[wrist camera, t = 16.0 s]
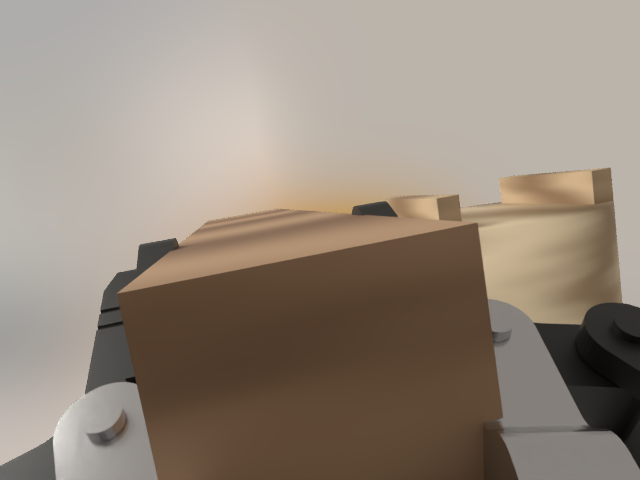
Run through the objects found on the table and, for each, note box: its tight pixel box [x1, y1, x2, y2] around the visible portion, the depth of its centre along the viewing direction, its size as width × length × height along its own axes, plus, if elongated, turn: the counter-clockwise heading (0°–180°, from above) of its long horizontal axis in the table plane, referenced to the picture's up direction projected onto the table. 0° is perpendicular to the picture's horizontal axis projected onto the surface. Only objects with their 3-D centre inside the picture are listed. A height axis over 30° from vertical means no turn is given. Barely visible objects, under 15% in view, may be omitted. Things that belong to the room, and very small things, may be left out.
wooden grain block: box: [117, 209, 503, 480], centre depth 16 cm, size 22×4×4 cm, turn 11°
